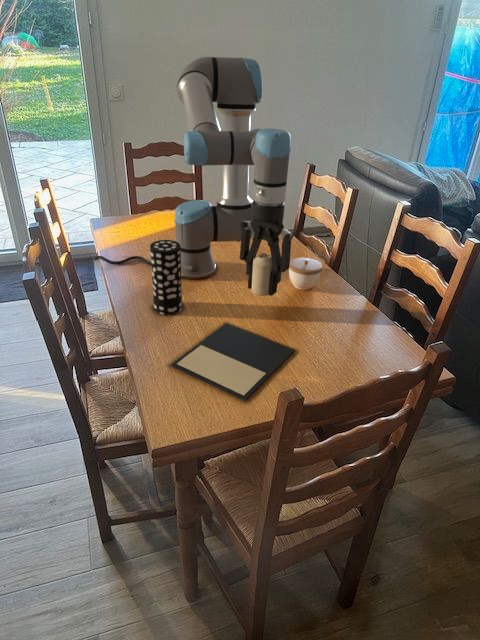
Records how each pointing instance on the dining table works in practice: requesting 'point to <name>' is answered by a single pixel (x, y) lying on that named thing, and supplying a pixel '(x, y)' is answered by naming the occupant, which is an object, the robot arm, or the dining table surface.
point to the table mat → (233, 360)
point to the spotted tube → (166, 276)
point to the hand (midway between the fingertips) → (262, 289)
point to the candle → (261, 274)
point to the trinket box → (304, 272)
